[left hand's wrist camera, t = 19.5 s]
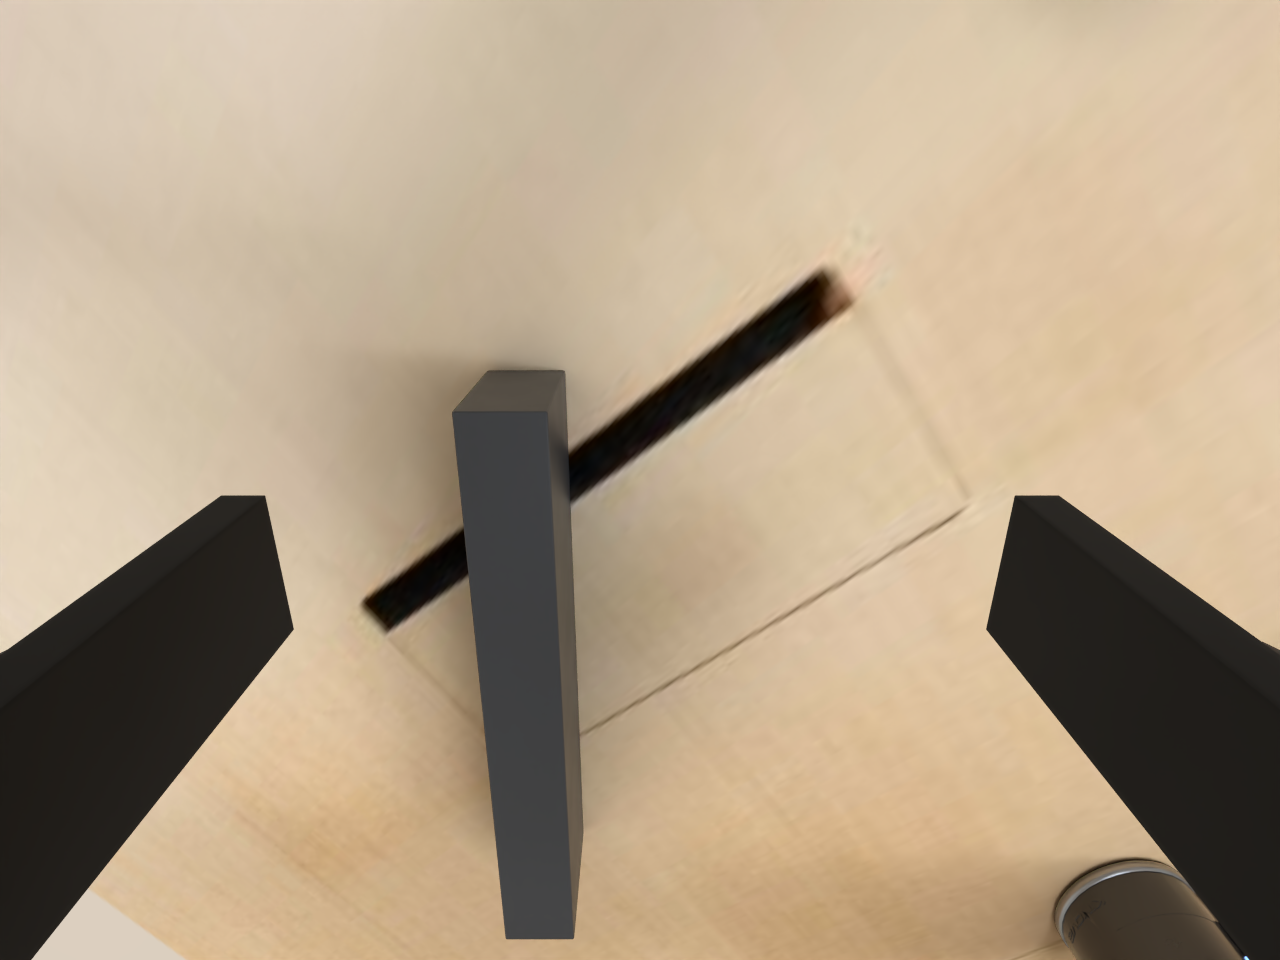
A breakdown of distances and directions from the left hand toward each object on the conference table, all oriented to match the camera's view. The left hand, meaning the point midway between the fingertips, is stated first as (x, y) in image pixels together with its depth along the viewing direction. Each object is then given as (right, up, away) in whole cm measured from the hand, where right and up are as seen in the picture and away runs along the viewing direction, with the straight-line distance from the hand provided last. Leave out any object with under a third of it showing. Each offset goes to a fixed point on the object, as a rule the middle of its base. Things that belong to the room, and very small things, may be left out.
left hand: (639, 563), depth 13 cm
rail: (-6, -8, +30) cm, 31 cm away
